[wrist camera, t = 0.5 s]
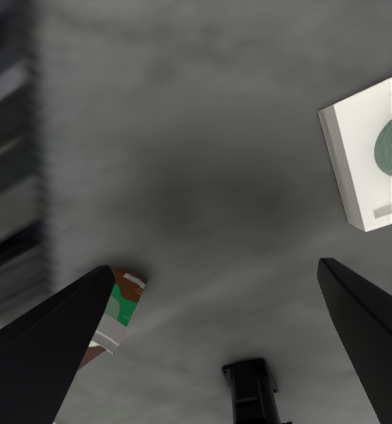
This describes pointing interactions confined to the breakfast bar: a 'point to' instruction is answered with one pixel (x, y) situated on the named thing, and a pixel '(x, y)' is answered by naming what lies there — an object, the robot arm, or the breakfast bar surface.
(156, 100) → the breakfast bar surface
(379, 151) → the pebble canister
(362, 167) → the tray
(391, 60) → the breakfast bar surface
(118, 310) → the food container
